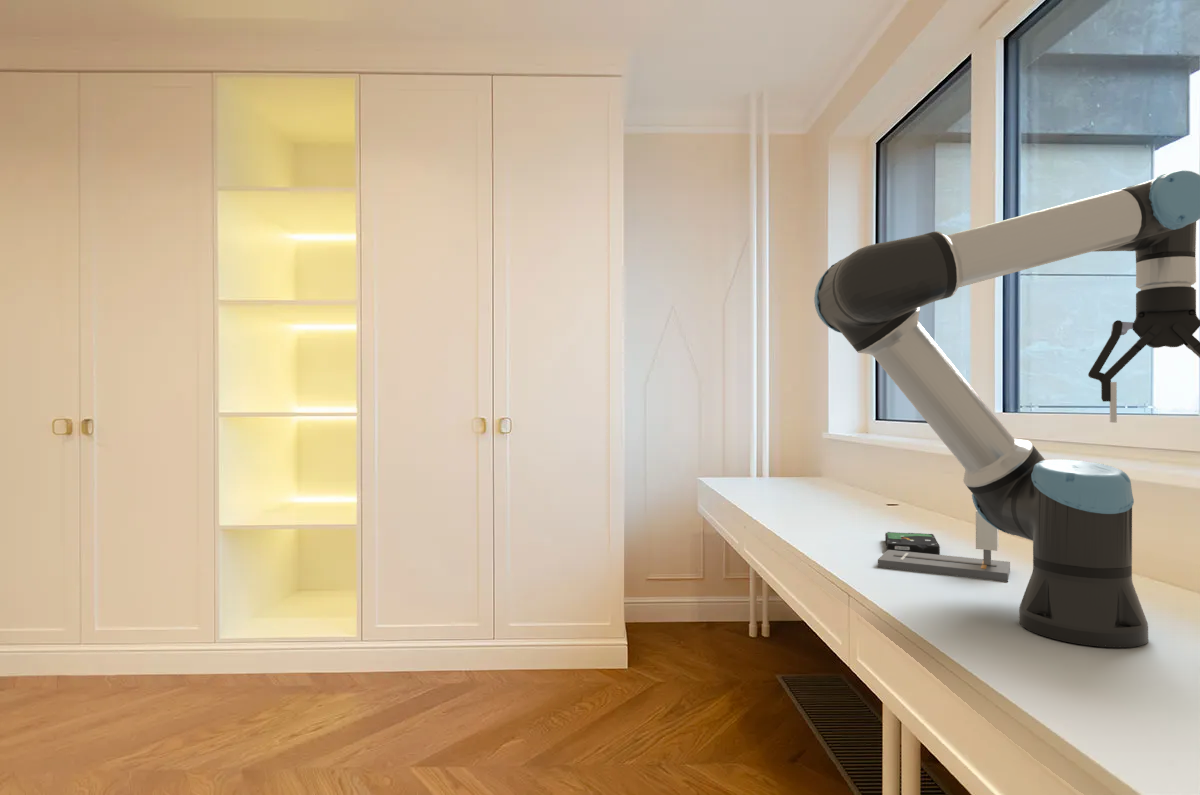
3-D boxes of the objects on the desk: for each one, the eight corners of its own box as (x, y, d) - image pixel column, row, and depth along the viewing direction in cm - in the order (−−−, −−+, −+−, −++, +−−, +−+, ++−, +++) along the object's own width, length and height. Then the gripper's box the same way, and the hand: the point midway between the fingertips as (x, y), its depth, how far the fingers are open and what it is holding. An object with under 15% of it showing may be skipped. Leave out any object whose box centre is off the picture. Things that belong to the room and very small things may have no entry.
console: (1007, 581, 131) (1007, 572, 131) (877, 567, 142) (877, 559, 142) (1010, 569, 141) (1010, 561, 141) (888, 556, 152) (888, 549, 152)
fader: (997, 567, 135) (997, 512, 135) (975, 565, 136) (975, 511, 136) (998, 562, 139) (998, 509, 139) (977, 560, 141) (977, 507, 141)
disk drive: (941, 559, 153) (933, 545, 167) (941, 546, 152) (933, 532, 167) (887, 556, 156) (884, 542, 170) (887, 543, 156) (884, 530, 170)
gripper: (1263, 285, 113) (1264, 423, 113) (1070, 296, 126) (1070, 421, 126) (1277, 278, 106) (1277, 425, 106) (1072, 291, 119) (1072, 422, 119)
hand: (1165, 423), depth 116 cm, fingers open, 13 cm apart
